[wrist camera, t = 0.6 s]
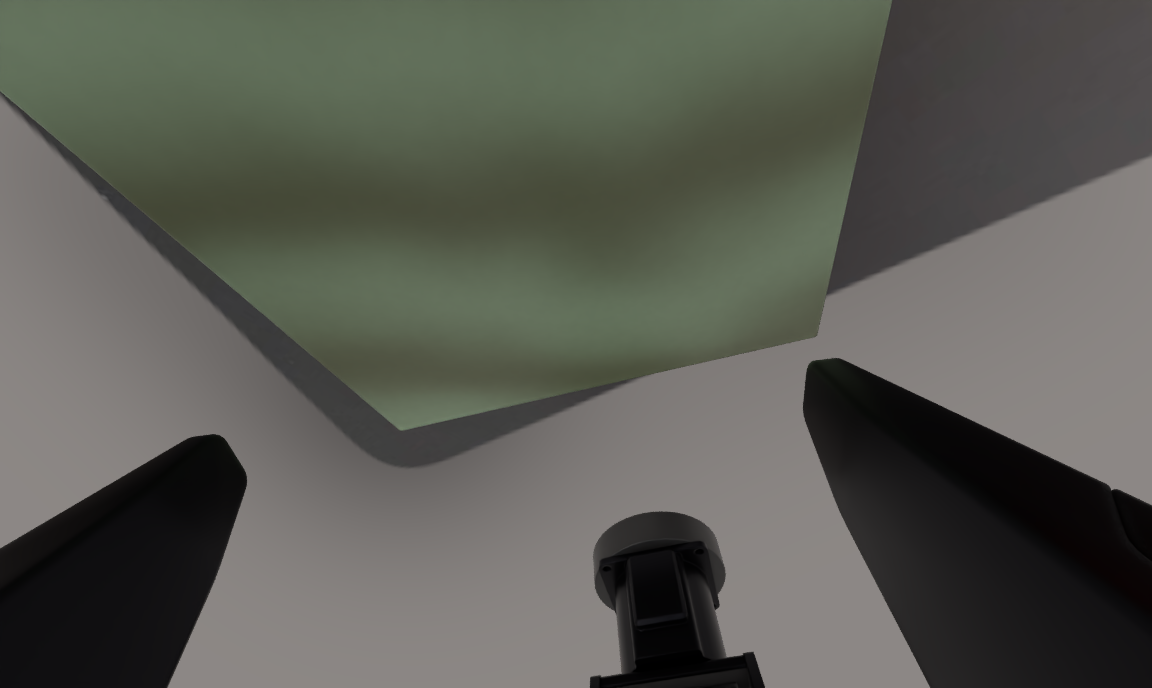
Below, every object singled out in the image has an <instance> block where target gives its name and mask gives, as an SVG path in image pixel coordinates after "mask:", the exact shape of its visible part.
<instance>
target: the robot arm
mask: <svg viewBox="0 0 1152 688" xmlns="http://www.w3.org/2000/svg"><path fill="white" fill-rule="evenodd" d="M803 413H804V418H805V422H806V424H807V427H808V430H809V432H810V435H811V438H812V440H813V443H814V446H815V448H816V451H817V454H818V456H819V459H820V462H821V464H822V467H823V470H824V472H825V475H826V478H827V480H828V483H829V485H830V488H831V491H832V493H833V496H834V498H835V501H836V503H837V506H838V508H839V511H840V513H841V515H842V517H843V519H844V521H845V523H846V525H847V527H848V529H849V531H850V533H851V535H852V537H853V539H854V541H855V543H856V545H857V547H858V549H859V551H860V553H861V555H862V556H863V558H864V560H865V562H866V564H867V566H868V568H869V570H870V572H871V574H872V576H873V578H874V579H875V582H876V583H877V585H878V587H879V589H880V591H881V593H882V595H883V597H884V599H885V601H886V603H887V605H888V607H889V609H890V611H891V612H892V614H893V616H894V618H895V620H896V622H897V624H898V626H899V628H900V630H901V632H902V634H903V635H904V638H905V640H906V641H907V643H908V645H909V647H910V649H911V651H912V653H913V655H914V657H915V659H916V661H917V663H918V665H919V667H920V669H921V670H922V672H923V674H924V676H925V678H926V680H927V682H928V684H929V686H930V688H1152V505H1150V504H1148V503H1146V502H1144V501H1142V500H1140V499H1137V498H1135V497H1133V496H1131V495H1129V494H1127V493H1124V492H1123V491H1121V490H1118V489H1114V490H1112V491H1111V488H1110V487H1109V486H1108V485H1107V484H1105V483H1103V482H1101V481H1099V480H1097V479H1095V478H1092V477H1090V476H1088V475H1086V474H1084V473H1082V472H1079V471H1077V470H1075V469H1073V468H1071V467H1069V466H1067V465H1065V464H1063V463H1061V462H1059V461H1056V460H1054V459H1052V458H1050V457H1048V456H1046V455H1043V454H1041V453H1040V452H1037V451H1035V450H1033V449H1031V448H1029V447H1027V446H1025V445H1023V444H1020V443H1018V442H1016V441H1014V440H1012V439H1010V438H1008V437H1006V436H1004V435H1001V434H999V433H997V432H995V431H993V430H991V429H988V428H987V427H984V426H982V425H980V424H978V423H976V422H974V421H972V420H970V419H967V418H965V417H963V416H961V415H959V414H957V413H955V412H952V411H950V410H948V409H946V408H944V407H942V406H940V405H938V404H936V403H934V402H931V401H929V400H927V399H925V398H923V397H921V396H919V395H916V394H914V393H912V392H910V391H908V390H906V389H904V388H902V387H899V386H897V385H895V384H893V383H891V382H889V381H887V380H885V379H883V378H881V377H878V376H876V375H874V374H872V373H870V372H868V371H866V370H864V369H861V368H859V367H857V366H855V365H853V364H851V363H849V362H847V361H844V360H842V359H839V358H832V359H824V360H816V361H812V362H811V363H810V364H809V365H808V368H807V372H806V382H805V391H804V402H803ZM246 486H247V476H246V472H245V470H244V468H243V467H242V465H241V463H240V462H239V460H238V459H237V457H236V456H235V454H234V452H233V451H232V449H231V448H230V446H229V445H228V443H227V441H226V440H225V439H224V438H223V437H221V436H220V435H216V434H211V435H203V436H196V437H191V438H188V439H186V440H185V441H183V442H181V443H179V444H177V445H176V446H174V447H173V448H171V449H169V450H168V451H166V452H164V453H162V454H160V455H159V456H157V457H155V458H154V459H152V460H150V461H148V462H147V463H145V464H143V465H142V466H140V467H138V468H137V469H135V470H133V471H131V472H130V473H128V474H126V475H125V476H123V477H121V478H120V479H118V480H116V481H114V482H113V483H111V484H109V485H108V486H106V487H104V488H102V489H101V490H99V491H97V492H96V493H94V494H92V495H91V496H89V497H87V498H85V499H84V500H82V501H81V502H79V503H77V504H75V505H74V506H72V507H71V508H68V509H67V510H65V511H63V512H62V513H60V514H58V515H57V516H55V517H53V518H52V519H50V520H48V521H46V522H45V523H43V524H41V525H39V526H38V527H36V528H34V529H33V530H31V531H29V532H28V533H26V534H24V535H22V536H21V537H19V538H17V539H16V540H14V541H12V542H11V543H9V544H7V545H5V546H4V547H2V548H0V688H167V687H168V685H169V683H170V680H171V678H172V676H173V674H174V671H175V669H176V667H177V665H178V663H179V660H180V658H181V656H182V654H183V651H184V649H185V647H186V644H187V642H188V640H189V638H190V635H191V633H192V631H193V629H194V626H195V624H196V622H197V620H198V617H199V615H200V613H201V611H202V608H203V606H204V604H205V602H206V600H207V597H208V595H209V593H210V590H211V588H212V585H213V583H214V580H215V578H216V575H217V573H218V570H219V567H220V565H221V562H222V559H223V556H224V553H225V550H226V547H227V544H228V541H229V537H230V535H231V531H232V528H233V526H234V523H235V519H236V517H237V514H238V511H239V508H240V505H241V502H242V499H243V496H244V493H245V489H246ZM598 565H599V572H600V575H601V577H602V580H603V582H604V585H605V587H606V590H607V592H608V595H609V597H610V600H611V603H612V605H613V608H614V610H615V613H616V615H617V625H618V637H619V647H620V660H621V672H622V674H618V675H611V676H605V677H601V676H600V675H599V676H593V677H591V678H590V688H765V686H764V683H763V680H762V677H761V674H760V671H759V668H758V664H757V661H756V658H755V655H754V652H747V653H743V655H741V656H734V657H728V658H727V657H726V653H725V649H724V645H723V641H722V637H721V632H720V628H719V624H718V621H717V616H716V612H715V610H716V609H717V608H718V607H719V600H718V595H717V590H716V586H715V581H714V577H713V572H712V567H711V563H710V558H709V553H708V549H707V545H706V543H705V542H703V541H692V542H687V543H682V544H676V545H671V546H666V547H660V548H655V549H650V550H644V551H639V552H634V553H628V554H623V555H617V556H612V557H607V558H603V559H601V560H599V562H598Z"/></svg>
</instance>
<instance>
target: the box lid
mask: <svg viewBox="0 0 1152 688" xmlns="http://www.w3.org/2000/svg"><path fill="white" fill-rule="evenodd" d="M891 4H892V0H0V91H1V92H2V93H3V94H4V95H6V96H7V97H8V98H9V99H10V100H11V101H13V102H14V103H15V104H16V105H17V106H19V107H20V108H21V109H22V110H23V111H24V112H26V113H27V114H28V115H29V116H30V117H31V118H33V119H34V120H35V121H36V122H37V123H39V124H40V125H41V126H42V127H43V128H44V129H46V130H47V131H48V132H49V133H50V134H51V135H53V136H54V137H55V138H56V139H57V140H59V141H60V142H61V143H62V144H63V145H64V146H66V147H67V148H68V149H69V150H70V151H72V152H73V153H74V154H75V155H76V156H77V157H79V158H80V159H81V160H82V161H83V162H84V163H86V164H87V165H88V166H89V167H90V168H92V169H93V170H94V171H95V172H96V173H97V174H99V175H100V176H101V177H102V178H103V179H104V180H106V181H107V182H108V183H109V184H110V185H112V186H113V187H114V188H115V189H116V190H117V191H119V192H120V193H121V194H122V195H123V196H124V197H126V198H127V199H128V200H129V201H130V202H132V203H133V204H134V205H135V206H136V207H137V208H139V209H140V210H141V211H142V212H143V213H145V214H146V215H147V216H148V217H149V218H150V219H152V220H153V221H154V222H155V223H156V224H157V225H159V226H160V227H161V228H162V229H163V230H165V231H166V232H167V233H168V234H169V235H170V236H172V237H173V238H174V239H175V240H176V241H177V242H179V243H180V244H181V245H182V246H183V247H185V248H186V249H187V250H188V251H189V252H190V253H192V254H193V255H194V256H195V257H196V258H197V259H199V260H200V261H201V262H202V263H203V264H205V265H206V266H207V267H208V268H209V269H210V270H212V271H213V272H214V273H215V274H216V275H218V276H219V277H220V278H221V279H222V280H223V281H225V282H226V283H227V284H228V285H229V286H230V287H232V288H233V289H234V290H235V291H236V292H238V293H239V294H240V295H241V296H242V297H243V298H245V299H246V300H247V301H248V302H249V303H250V304H252V305H253V306H254V307H255V308H256V309H258V310H259V311H260V312H261V313H262V314H263V315H265V316H266V317H267V318H268V319H269V320H270V321H272V322H273V323H274V324H275V325H276V326H278V327H279V328H280V329H281V330H282V331H283V332H285V333H286V334H287V335H288V336H289V337H291V338H292V339H293V340H294V341H295V342H296V343H298V344H299V345H300V346H301V347H302V348H303V349H305V350H306V351H307V352H308V353H309V354H311V355H312V356H313V357H314V358H315V359H316V360H318V361H319V362H320V363H321V364H322V365H323V366H325V367H326V368H327V369H328V370H329V371H331V372H332V373H333V374H334V375H335V376H336V377H338V378H339V379H340V380H341V381H342V382H344V383H345V384H346V385H347V386H348V387H349V388H351V389H352V390H353V391H354V392H355V393H356V394H358V395H359V396H360V397H361V398H362V399H364V400H365V401H366V402H367V403H368V404H369V405H371V406H372V407H373V408H374V409H375V410H376V411H378V412H379V413H380V414H381V415H382V416H384V417H385V418H386V419H387V420H388V421H389V422H391V423H392V424H393V425H394V426H395V427H396V428H398V429H399V430H401V431H402V430H407V429H411V428H416V427H420V426H425V425H429V424H433V423H438V422H442V421H447V420H451V419H455V418H460V417H464V416H469V415H473V414H478V413H482V412H486V411H491V410H495V409H500V408H504V407H508V406H513V405H517V404H522V403H526V402H530V401H535V400H539V399H544V398H548V397H553V396H557V395H561V394H566V393H570V392H575V391H579V390H583V389H588V388H592V387H597V386H601V385H606V384H610V383H614V382H619V381H623V380H628V379H632V378H636V377H641V376H645V375H650V374H654V373H658V372H663V371H667V370H671V369H676V368H681V367H685V366H689V365H694V364H698V363H702V362H707V361H711V360H716V359H720V358H724V357H729V356H733V355H738V354H742V353H746V352H751V351H756V350H760V349H764V348H768V347H773V346H778V345H782V344H786V343H791V342H795V341H800V340H804V339H808V338H813V337H816V336H817V333H818V329H819V324H820V320H821V315H822V311H823V307H824V302H825V298H826V293H827V289H828V284H829V280H830V275H831V271H832V267H833V262H834V258H835V253H836V249H837V244H838V240H839V235H840V231H841V227H842V222H843V218H844V213H845V209H846V204H847V200H848V195H849V191H850V186H851V182H852V178H853V173H854V169H855V164H856V160H857V155H858V151H859V146H860V142H861V137H862V133H863V129H864V124H865V120H866V115H867V111H868V106H869V102H870V97H871V93H872V89H873V84H874V80H875V75H876V71H877V66H878V62H879V57H880V53H881V48H882V44H883V40H884V35H885V31H886V26H887V22H888V17H889V13H890V8H891Z"/></svg>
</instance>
